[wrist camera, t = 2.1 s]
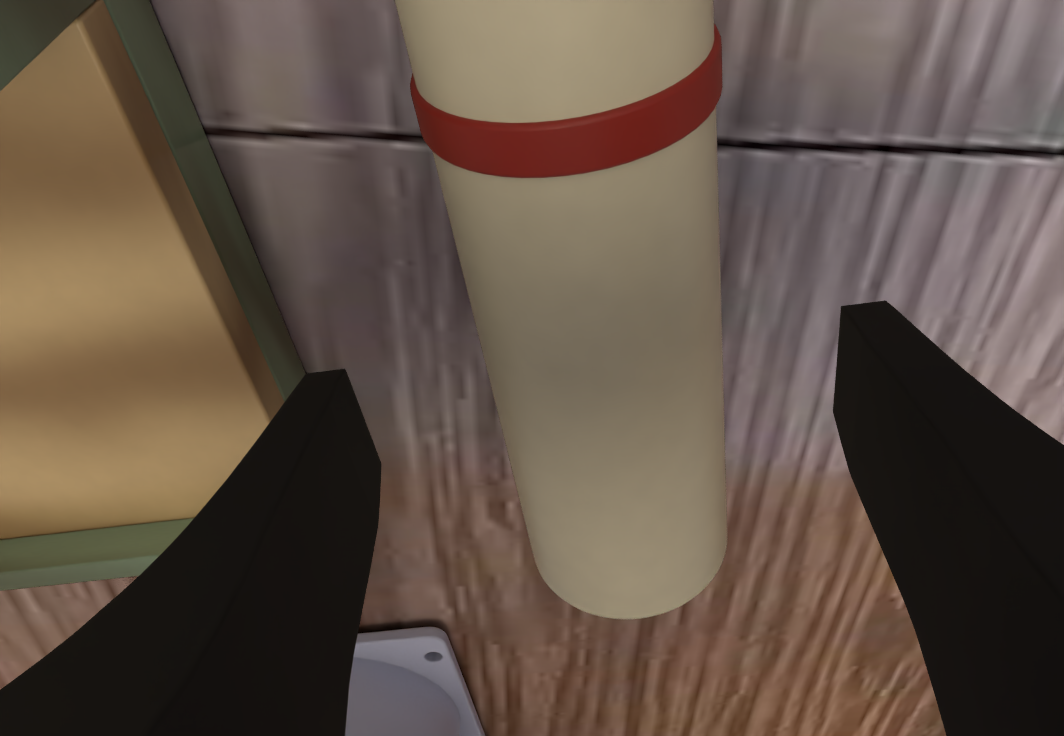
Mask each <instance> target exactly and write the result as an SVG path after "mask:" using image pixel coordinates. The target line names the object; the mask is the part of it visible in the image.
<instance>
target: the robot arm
mask: <svg viewBox="0 0 1064 736" xmlns="http://www.w3.org/2000/svg"><path fill="white" fill-rule="evenodd" d="M833 413H834V417H835V421H836V425H837V429H838V432H839V436H840V440H841V444H842V447H843V451H844V454H845V458H846V461H847V465H848V468H849V472H850V474H851V477H852V479H853V482H854V484H855V487H856V489H857V492H858V494H859V496H860V499H861V501H862V503H863V506H864V508H865V511H866V513H867V515H868V518H869V520H870V522H871V525H872V527H873V529H874V532H875V534H876V537H877V539H878V541H879V544H880V546H881V548H882V551H883V553H884V555H885V558H886V560H887V562H888V565H889V567H890V569H891V572H892V574H893V576H894V579H895V581H896V583H897V586H898V588H899V590H900V593H901V595H902V597H903V600H904V602H905V605H906V607H907V610H908V613H909V615H910V618H911V621H912V623H913V626H914V629H915V631H916V634H917V638H918V641H919V644H920V648H921V651H922V654H923V657H924V661H925V664H926V667H927V670H928V674H929V677H930V680H931V684H932V687H933V690H934V693H935V697H936V700H937V704H938V707H939V711H940V714H941V718H942V721H943V725H944V728H945V732H946V735H947V736H1064V445H1063V444H1061V443H1060V442H1058V441H1057V440H1055V439H1054V438H1052V437H1051V436H1050V435H1048V434H1047V433H1045V432H1044V431H1043V430H1041V429H1040V428H1038V427H1037V426H1036V425H1034V424H1033V423H1032V422H1030V421H1029V420H1027V419H1026V418H1025V417H1023V416H1022V415H1020V414H1019V413H1018V412H1016V411H1015V410H1014V409H1012V408H1011V407H1010V406H1009V405H1007V404H1006V403H1005V402H1003V401H1002V400H1001V399H1000V398H998V397H997V396H996V395H995V394H993V393H992V392H991V391H990V390H988V389H987V388H986V387H985V386H984V385H982V384H981V383H980V382H979V381H977V380H976V379H975V378H974V377H973V376H971V375H970V374H969V373H968V372H966V371H965V370H964V369H963V368H962V367H961V366H959V365H958V364H957V363H956V362H955V361H954V360H952V359H951V358H950V357H949V356H948V355H947V354H946V353H944V352H943V351H942V350H941V349H940V348H939V347H938V346H936V345H935V344H934V343H933V342H932V341H931V340H930V339H929V338H927V337H926V336H925V335H924V334H923V333H922V332H921V331H920V330H919V329H917V328H916V327H915V326H914V325H913V324H912V323H911V322H910V321H909V320H907V319H906V318H905V317H904V316H903V315H902V314H901V313H900V312H899V311H897V310H896V309H895V308H894V307H893V306H892V305H890V304H889V303H888V302H887V301H878V302H870V303H863V304H855V305H847V306H841V315H840V328H839V341H838V354H837V367H836V380H835V393H834V405H833ZM380 487H381V461H380V459H379V456H378V453H377V451H376V448H375V446H374V443H373V440H372V438H371V435H370V432H369V430H368V427H367V425H366V422H365V419H364V417H363V414H362V412H361V409H360V406H359V404H358V401H357V398H356V396H355V393H354V391H353V388H352V385H351V383H350V380H349V377H348V375H347V372H346V370H345V369H340V370H332V371H324V372H316V373H308V374H305V376H304V377H303V378H302V379H301V381H300V382H299V383H298V385H297V386H296V387H295V389H294V390H293V391H292V393H291V394H290V395H289V397H288V398H287V399H286V401H285V402H284V404H283V405H282V406H281V408H280V409H279V410H278V412H277V413H276V414H275V416H274V417H273V419H272V420H271V421H270V423H269V424H268V425H267V427H266V428H265V430H264V431H263V432H262V434H261V435H260V436H259V438H258V439H257V440H256V442H255V443H254V444H253V446H252V447H251V448H250V450H249V451H248V452H247V454H246V455H245V456H244V457H243V459H242V460H241V461H240V463H239V464H238V465H237V467H236V468H235V469H234V471H233V472H232V473H231V474H230V476H229V477H228V478H227V480H226V481H225V482H224V483H223V484H222V486H221V487H220V488H219V489H218V490H217V492H216V493H215V494H214V495H213V496H212V498H211V499H210V500H209V501H208V502H207V503H206V505H205V506H204V507H203V508H202V509H201V511H200V512H199V513H198V514H197V515H196V517H195V518H194V519H193V520H192V521H191V522H190V524H189V525H188V526H187V527H186V528H185V529H184V530H183V531H182V532H181V534H180V535H179V536H178V537H177V538H176V539H175V540H174V541H173V542H172V543H171V544H170V545H169V546H168V547H167V548H166V549H165V551H164V552H163V553H162V554H161V555H160V556H159V557H158V558H157V559H155V560H154V561H153V562H152V563H151V564H150V565H149V566H148V567H147V568H146V569H145V570H144V571H143V572H142V573H141V574H140V575H139V576H138V577H137V578H136V579H135V580H134V581H133V582H132V583H131V584H130V585H129V586H128V587H127V588H126V589H124V590H123V591H122V592H121V593H120V594H119V595H118V596H116V597H115V598H114V599H113V600H112V601H111V602H110V603H108V604H107V605H106V606H105V607H104V608H103V609H102V610H100V611H99V612H98V613H97V614H96V615H95V616H94V617H93V618H91V619H90V620H89V621H88V622H87V623H86V624H85V625H83V626H82V627H81V628H80V629H79V630H78V631H76V632H75V633H74V634H73V635H72V636H70V637H69V638H68V639H67V640H65V641H64V642H63V643H62V644H60V645H59V646H58V647H57V648H55V649H54V650H53V651H51V652H50V653H49V654H48V655H46V656H45V657H44V658H43V659H41V660H40V661H39V662H37V663H36V664H35V665H33V666H32V667H31V668H29V669H28V670H27V671H25V672H24V673H23V674H21V675H20V676H18V677H17V678H16V679H14V680H13V681H12V682H10V683H9V684H8V685H6V686H5V687H3V688H2V689H1V690H0V736H485V734H484V731H483V728H482V726H481V723H480V720H479V718H478V715H477V712H476V710H475V707H474V705H473V702H472V699H471V697H470V694H469V691H468V689H467V686H466V683H465V681H464V678H463V676H462V673H461V670H460V668H459V665H458V662H457V660H456V657H455V654H454V652H453V649H452V647H451V644H450V641H449V639H448V636H447V634H446V633H445V632H444V631H443V630H441V629H439V628H436V627H419V628H409V629H398V630H388V631H378V632H368V633H358V630H359V625H360V619H361V614H362V609H363V604H364V599H365V593H366V588H367V583H368V578H369V573H370V567H371V562H372V557H373V551H374V546H375V540H376V535H377V529H378V521H379V506H380Z"/></svg>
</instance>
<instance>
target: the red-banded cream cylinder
mask: <svg viewBox="0 0 1064 736" xmlns="http://www.w3.org/2000/svg"><path fill="white" fill-rule="evenodd" d="M395 4H396V8H397V12H398V16H399V20H400V24H401V28H402V32H403V36H404V40H405V44H406V48H407V52H408V56H409V60H410V64H411V68H412V72H413V73H412V78H411V83H410V89H411V96H412V100H413V104H414V108H415V111H416V115H417V119H418V123H419V127H420V131H421V134H422V136H423V139H424V141H425V142H426V144H427V145H428V146H429V147H430V149H431V150H432V152H433V156H434V160H435V164H436V168H437V172H438V176H439V180H440V184H441V188H442V192H443V196H444V200H445V204H446V208H447V212H448V216H449V220H450V224H451V228H452V232H453V236H454V240H455V244H456V248H457V252H458V256H459V260H460V264H461V268H462V272H463V276H464V280H465V284H466V288H467V292H468V296H469V300H470V304H471V308H472V312H473V316H474V320H475V324H476V328H477V332H478V336H479V340H480V344H481V348H482V352H483V356H484V360H485V364H486V368H487V372H488V376H489V380H490V384H491V388H492V392H493V396H494V400H495V404H496V408H497V412H498V416H499V420H500V424H501V428H502V432H503V436H504V440H505V444H506V448H507V452H508V456H509V460H510V464H511V468H512V472H513V476H514V480H515V484H516V488H517V492H518V496H519V500H520V504H521V508H522V512H523V516H524V520H525V524H526V528H527V532H528V536H529V540H530V544H531V548H532V552H533V556H534V560H535V563H536V565H537V568H538V571H539V572H540V574H541V576H542V578H543V580H544V581H545V582H546V583H547V585H548V586H549V587H550V588H551V589H552V590H553V591H554V592H555V593H556V594H557V595H558V596H559V597H560V598H562V599H563V600H565V601H566V602H567V603H569V604H570V605H572V606H574V607H576V608H578V609H580V610H582V611H585V612H587V613H590V614H593V615H597V616H601V617H605V618H613V619H639V618H647V617H651V616H656V615H660V614H663V613H666V612H669V611H671V610H673V609H675V608H678V607H680V606H682V605H684V604H685V603H687V602H688V601H690V600H691V599H693V598H694V597H695V596H697V595H698V594H699V593H700V592H701V591H703V590H704V588H705V587H706V586H707V585H708V584H709V583H710V582H711V581H712V579H713V578H714V576H715V575H716V573H717V572H718V570H719V568H720V566H721V564H722V562H723V559H724V556H725V552H726V547H727V507H726V469H725V431H724V393H723V355H722V316H721V278H720V240H719V202H718V164H717V126H716V105H717V103H718V101H719V99H720V96H721V92H722V44H721V36H720V34H719V31H718V29H717V27H716V25H715V24H714V11H713V0H395Z"/></svg>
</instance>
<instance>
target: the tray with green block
mask: <svg viewBox="0 0 1064 736" xmlns="http://www.w3.org/2000/svg"><path fill="white" fill-rule="evenodd" d="M304 376H305V371H304V369H303V367H302V364H301V362H300V359H299V357H298V355H297V352H296V350H295V347H294V345H293V343H292V340H291V338H290V335H289V333H288V331H287V328H286V326H285V324H284V321H283V319H282V316H281V314H280V312H279V309H278V307H277V304H276V302H275V300H274V297H273V295H272V292H271V290H270V288H269V285H268V283H267V281H266V278H265V276H264V273H263V271H262V269H261V266H260V264H259V261H258V259H257V257H256V254H255V252H254V250H253V247H252V245H251V242H250V240H249V238H248V235H247V233H246V230H245V228H244V226H243V223H242V221H241V218H240V216H239V214H238V211H237V209H236V207H235V204H234V202H233V199H232V197H231V195H230V192H229V190H228V187H227V185H226V183H225V180H224V178H223V176H222V173H221V171H220V168H219V166H218V164H217V161H216V159H215V156H214V154H213V152H212V149H211V147H210V144H209V142H208V140H207V137H206V135H205V133H204V130H203V128H202V125H201V123H200V121H199V118H198V116H197V113H196V111H195V109H194V106H193V104H192V102H191V99H190V97H189V94H188V92H187V90H186V87H185V85H184V82H183V80H182V78H181V75H180V73H179V70H178V68H177V66H176V63H175V61H174V59H173V56H172V54H171V51H170V49H169V47H168V44H167V42H166V39H165V37H164V35H163V32H162V30H161V28H160V25H159V23H158V20H157V18H156V16H155V13H154V11H153V8H152V6H151V4H150V1H149V0H0V591H3V590H12V589H21V588H31V587H40V586H49V585H59V584H68V583H77V582H87V581H96V580H105V579H115V578H124V577H133V576H139V575H140V574H141V573H142V572H143V571H144V570H145V569H146V568H147V567H148V566H149V565H150V564H151V563H152V562H153V561H154V560H155V559H157V558H158V557H159V556H160V555H161V554H162V553H163V552H164V551H165V549H166V548H167V547H168V546H169V545H170V544H171V543H172V542H173V541H174V540H175V539H176V538H177V537H178V536H179V535H180V534H181V532H182V531H183V530H184V529H185V528H186V527H187V526H188V525H189V524H190V522H191V521H192V520H193V519H194V518H195V517H196V515H197V514H198V513H199V512H200V511H201V509H202V508H203V507H204V506H205V505H206V503H207V502H208V501H209V500H210V499H211V498H212V496H213V495H214V494H215V493H216V492H217V490H218V489H219V488H220V487H221V486H222V484H223V483H224V482H225V481H226V480H227V478H228V477H229V476H230V474H231V473H232V472H233V471H234V469H235V468H236V467H237V465H238V464H239V463H240V461H241V460H242V459H243V457H244V456H245V455H246V454H247V452H248V451H249V450H250V448H251V447H252V446H253V444H254V443H255V442H256V440H257V439H258V438H259V436H260V435H261V434H262V432H263V431H264V430H265V428H266V427H267V425H268V424H269V423H270V421H271V420H272V419H273V417H274V416H275V414H276V413H277V412H278V410H279V409H280V408H281V406H282V405H283V404H284V402H285V401H286V399H287V398H288V397H289V395H290V394H291V393H292V391H293V390H294V389H295V387H296V386H297V385H298V383H299V382H300V381H301V379H302V378H303V377H304Z"/></svg>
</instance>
